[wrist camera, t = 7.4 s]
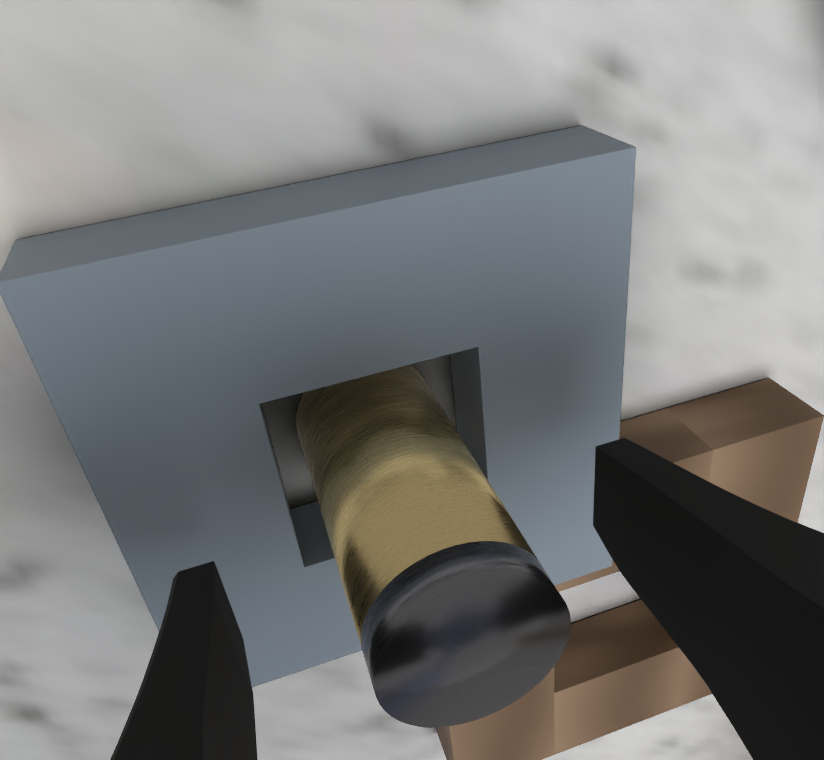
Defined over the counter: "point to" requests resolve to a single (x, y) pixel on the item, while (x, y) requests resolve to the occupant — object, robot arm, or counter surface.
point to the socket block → (336, 358)
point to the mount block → (634, 623)
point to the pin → (426, 554)
